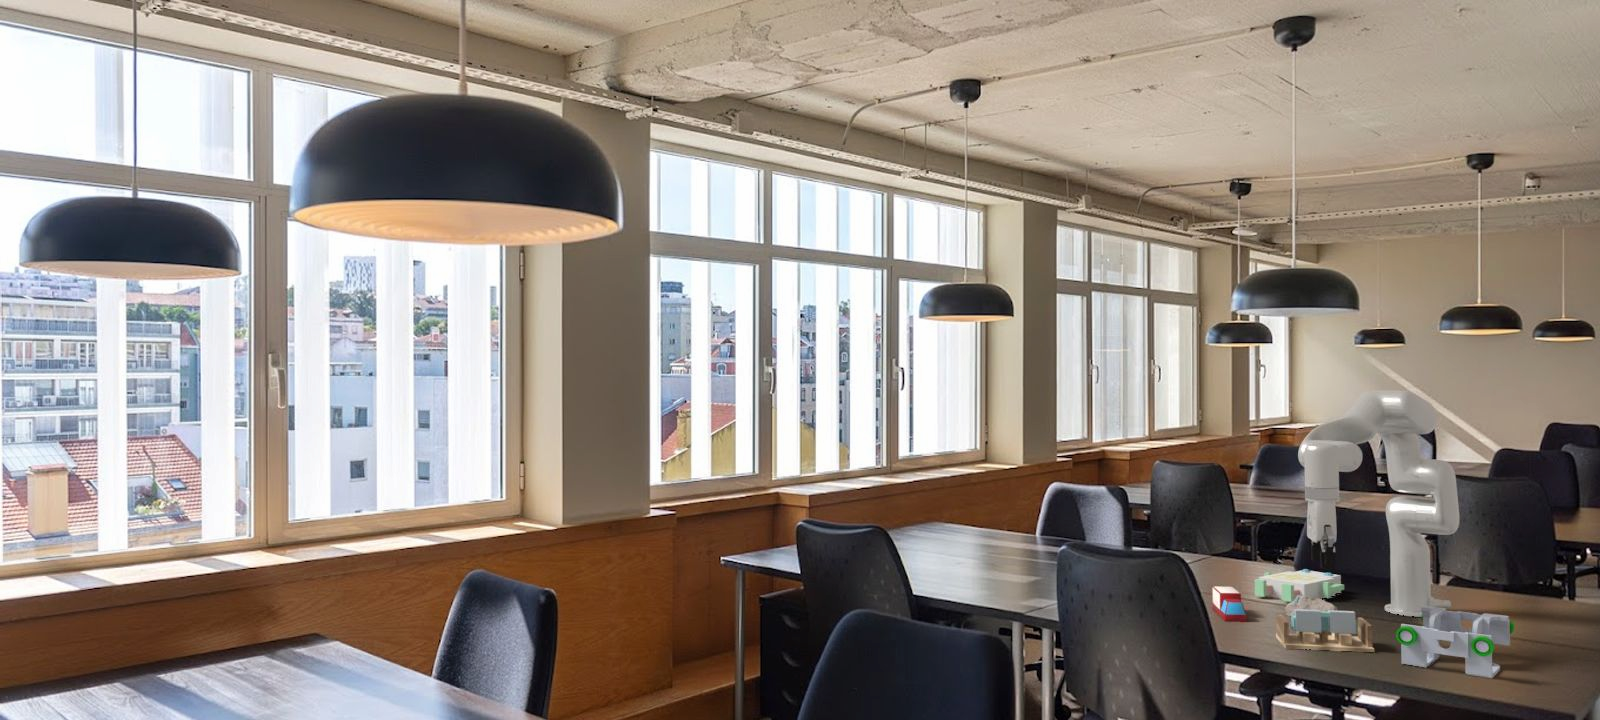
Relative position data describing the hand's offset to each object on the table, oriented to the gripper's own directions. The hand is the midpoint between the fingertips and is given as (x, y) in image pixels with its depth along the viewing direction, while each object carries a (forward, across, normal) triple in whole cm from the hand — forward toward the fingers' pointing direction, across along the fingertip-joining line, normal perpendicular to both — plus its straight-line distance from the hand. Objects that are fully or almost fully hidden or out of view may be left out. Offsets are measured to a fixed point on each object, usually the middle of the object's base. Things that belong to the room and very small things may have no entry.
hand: (1323, 565), depth 266 cm
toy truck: (+20, -30, -18) cm, 40 cm away
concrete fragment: (+20, -28, +3) cm, 35 cm away
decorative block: (+21, -60, +6) cm, 64 cm away
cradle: (+19, 0, 0) cm, 19 cm away
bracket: (+20, +11, +25) cm, 34 cm away
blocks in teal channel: (+16, +1, 0) cm, 16 cm away
